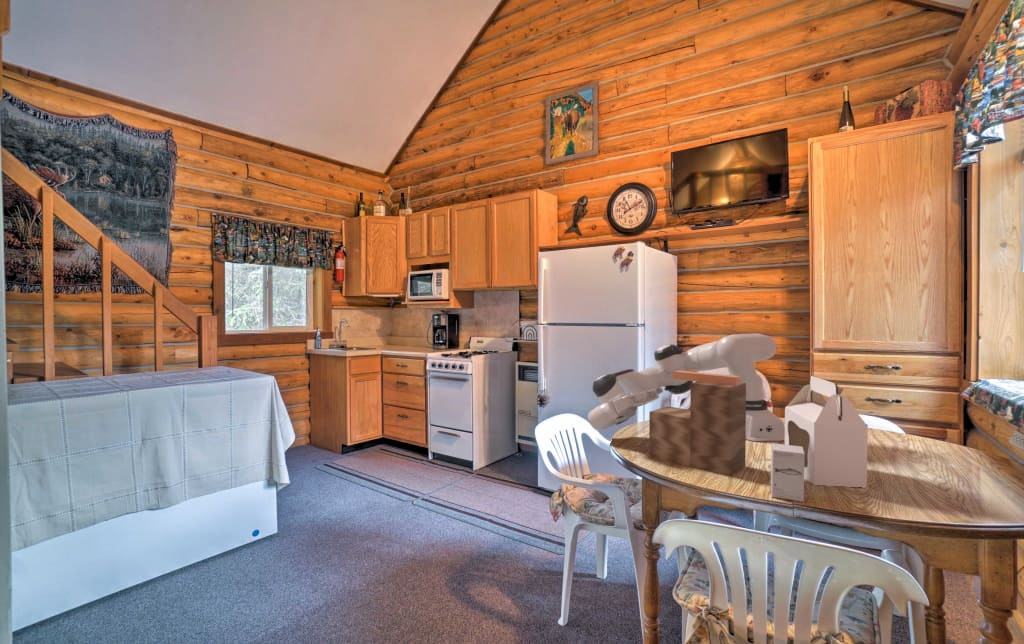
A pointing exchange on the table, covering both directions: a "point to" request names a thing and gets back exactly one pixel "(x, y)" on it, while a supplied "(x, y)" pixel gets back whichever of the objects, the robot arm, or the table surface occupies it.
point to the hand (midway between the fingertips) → (654, 391)
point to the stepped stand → (703, 429)
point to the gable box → (828, 435)
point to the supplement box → (787, 472)
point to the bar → (707, 377)
